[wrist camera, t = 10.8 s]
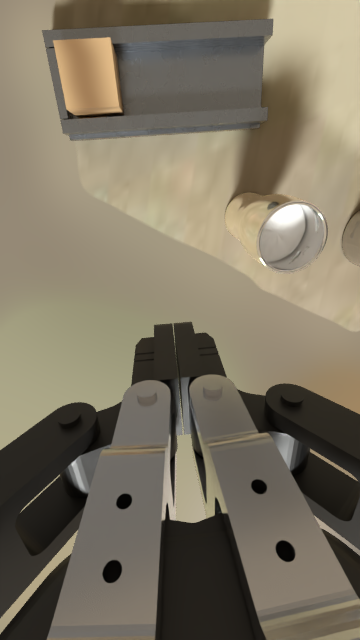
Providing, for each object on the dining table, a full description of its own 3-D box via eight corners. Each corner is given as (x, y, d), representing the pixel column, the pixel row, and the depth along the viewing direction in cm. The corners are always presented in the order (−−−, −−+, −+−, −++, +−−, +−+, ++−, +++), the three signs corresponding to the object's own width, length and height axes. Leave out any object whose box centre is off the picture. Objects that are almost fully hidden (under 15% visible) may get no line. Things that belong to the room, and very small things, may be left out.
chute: (261, 28, 31) (273, 13, 28) (257, 128, 35) (267, 124, 32) (52, 39, 31) (40, 24, 27) (72, 140, 35) (64, 137, 31)
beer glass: (281, 203, 40) (346, 219, 26) (254, 250, 42) (300, 287, 29) (237, 178, 38) (282, 182, 24) (211, 229, 40) (240, 258, 27)
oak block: (116, 56, 31) (110, 37, 26) (124, 115, 33) (119, 106, 28) (68, 59, 30) (53, 40, 26) (78, 117, 33) (66, 109, 28)
